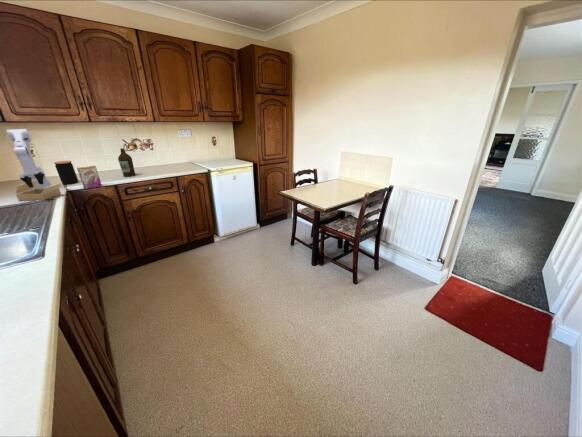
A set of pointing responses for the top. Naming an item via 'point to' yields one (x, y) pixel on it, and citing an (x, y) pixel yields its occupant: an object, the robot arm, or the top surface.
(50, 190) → the flap
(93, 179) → the candy bar box
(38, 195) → the carton
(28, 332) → the top surface
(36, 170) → the robot arm
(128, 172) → the olive oil
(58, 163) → the coffee jar
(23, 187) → the flap
